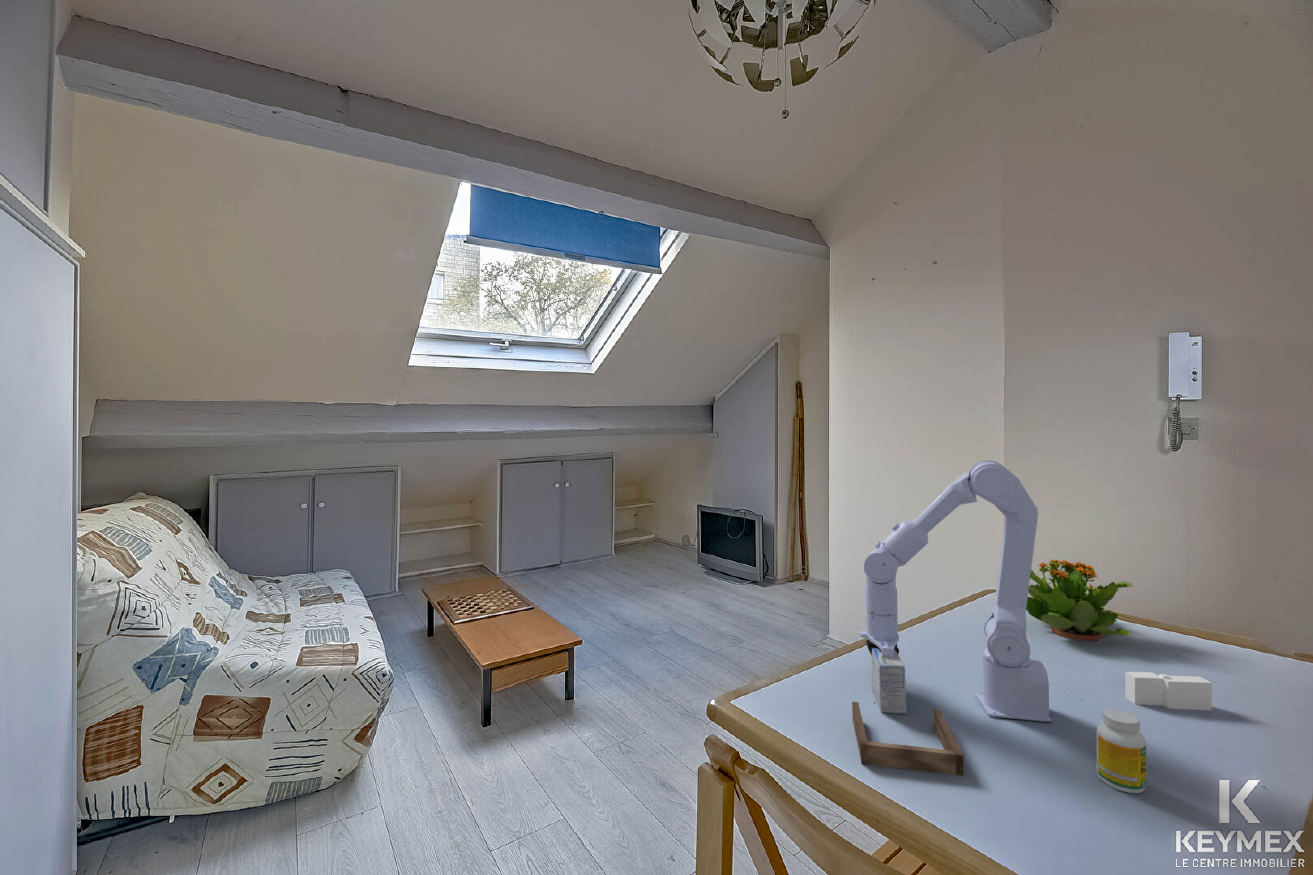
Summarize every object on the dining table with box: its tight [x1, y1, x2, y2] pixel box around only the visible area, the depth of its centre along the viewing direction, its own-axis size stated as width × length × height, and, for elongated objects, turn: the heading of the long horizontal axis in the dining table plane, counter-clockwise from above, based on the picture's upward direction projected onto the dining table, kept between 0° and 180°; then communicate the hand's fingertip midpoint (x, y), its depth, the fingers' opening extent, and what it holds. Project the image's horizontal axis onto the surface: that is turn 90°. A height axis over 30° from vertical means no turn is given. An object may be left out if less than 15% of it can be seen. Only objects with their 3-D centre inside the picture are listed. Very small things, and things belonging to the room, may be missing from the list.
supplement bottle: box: [1096, 708, 1147, 794], centre depth 78 cm, size 5×5×10 cm
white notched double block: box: [1124, 671, 1213, 711], centre depth 99 cm, size 15×11×6 cm
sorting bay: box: [851, 701, 965, 777], centre depth 88 cm, size 14×13×3 cm
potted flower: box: [1026, 558, 1133, 642], centre depth 130 cm, size 25×24×18 cm
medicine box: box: [871, 648, 907, 715], centre depth 101 cm, size 8×4×9 cm, turn 168°
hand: (882, 679), depth 108 cm, fingers closed
